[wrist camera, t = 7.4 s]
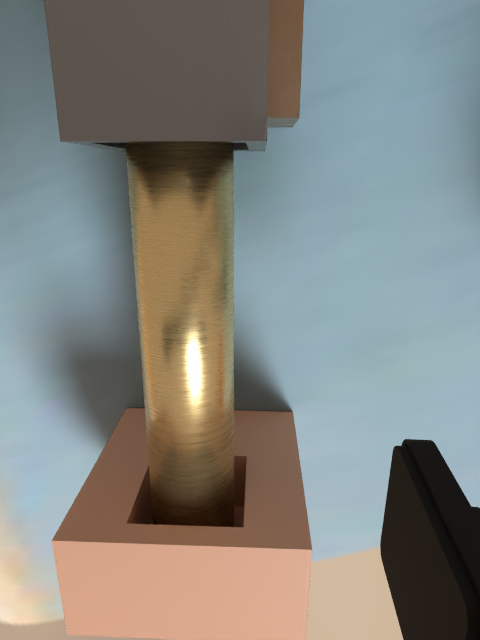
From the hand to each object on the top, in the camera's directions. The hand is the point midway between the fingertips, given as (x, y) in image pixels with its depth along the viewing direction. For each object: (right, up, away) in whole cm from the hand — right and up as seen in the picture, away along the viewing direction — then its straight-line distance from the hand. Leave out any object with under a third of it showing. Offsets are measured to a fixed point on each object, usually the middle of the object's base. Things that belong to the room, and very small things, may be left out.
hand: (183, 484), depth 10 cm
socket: (0, -2, +12) cm, 12 cm away
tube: (0, +4, +6) cm, 7 cm away
